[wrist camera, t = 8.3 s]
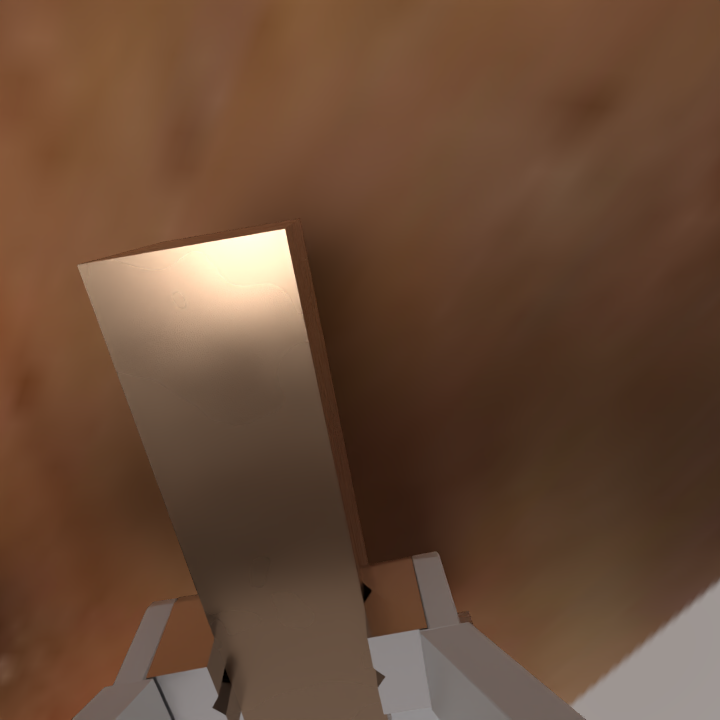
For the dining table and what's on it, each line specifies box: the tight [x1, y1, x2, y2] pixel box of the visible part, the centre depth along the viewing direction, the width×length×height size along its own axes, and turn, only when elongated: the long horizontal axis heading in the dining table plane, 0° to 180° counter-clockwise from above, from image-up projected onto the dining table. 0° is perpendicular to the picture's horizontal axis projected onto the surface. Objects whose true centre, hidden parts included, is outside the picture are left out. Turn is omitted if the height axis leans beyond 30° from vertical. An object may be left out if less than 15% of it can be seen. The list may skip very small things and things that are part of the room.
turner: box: [77, 218, 473, 720], centre depth 9 cm, size 7×15×3 cm, turn 9°
